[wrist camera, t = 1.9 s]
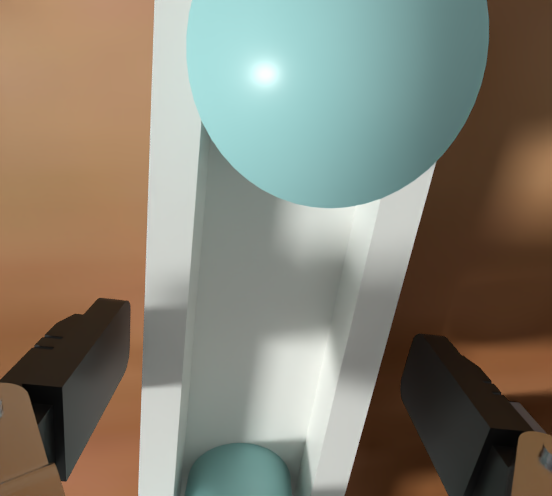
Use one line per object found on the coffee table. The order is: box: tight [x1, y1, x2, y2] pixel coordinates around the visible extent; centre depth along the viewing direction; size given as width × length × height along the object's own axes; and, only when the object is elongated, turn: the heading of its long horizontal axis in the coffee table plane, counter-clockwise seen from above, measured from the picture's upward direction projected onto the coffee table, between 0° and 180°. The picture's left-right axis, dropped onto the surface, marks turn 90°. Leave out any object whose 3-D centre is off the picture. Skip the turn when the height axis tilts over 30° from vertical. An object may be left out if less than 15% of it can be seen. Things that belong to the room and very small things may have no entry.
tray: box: [138, 0, 489, 496], centre depth 10 cm, size 22×6×6 cm, turn 172°
